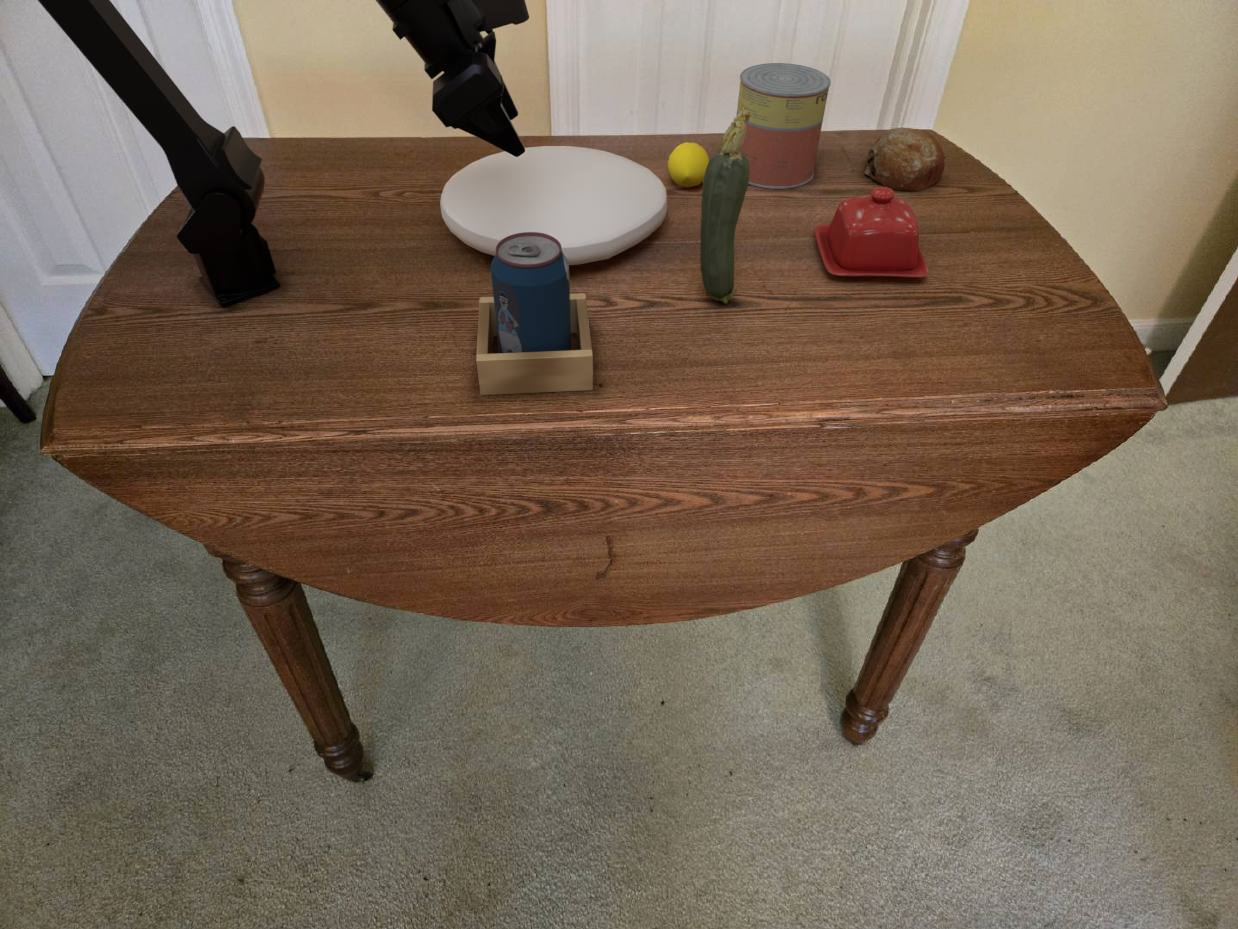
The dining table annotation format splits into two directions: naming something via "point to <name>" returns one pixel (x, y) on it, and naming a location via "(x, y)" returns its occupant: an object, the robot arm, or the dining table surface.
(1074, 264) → the dining table surface
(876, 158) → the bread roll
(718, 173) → the vegetable
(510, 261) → the soda can
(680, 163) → the lemon
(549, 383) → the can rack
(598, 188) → the plate
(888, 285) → the dining table surface
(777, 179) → the canned food
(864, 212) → the butter dish
